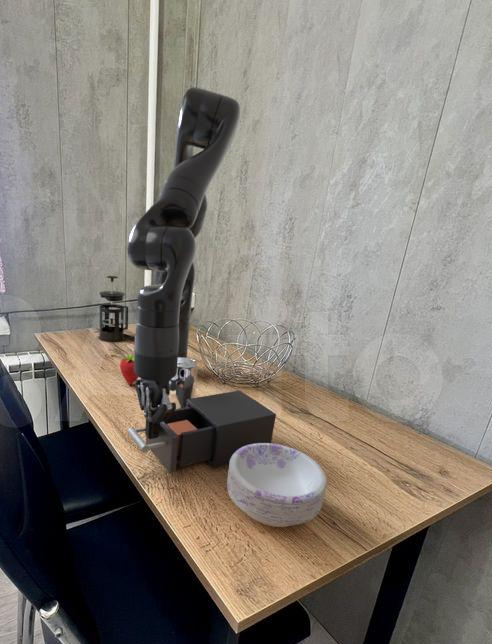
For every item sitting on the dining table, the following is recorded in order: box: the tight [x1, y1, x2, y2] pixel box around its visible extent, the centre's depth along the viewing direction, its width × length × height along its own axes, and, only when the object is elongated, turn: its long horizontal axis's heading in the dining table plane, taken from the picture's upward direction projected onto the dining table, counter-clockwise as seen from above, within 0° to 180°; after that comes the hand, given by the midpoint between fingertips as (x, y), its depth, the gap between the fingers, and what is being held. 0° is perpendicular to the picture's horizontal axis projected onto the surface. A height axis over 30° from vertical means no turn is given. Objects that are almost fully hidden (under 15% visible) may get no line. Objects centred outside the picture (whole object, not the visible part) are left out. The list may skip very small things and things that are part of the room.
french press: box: [98, 275, 129, 343], centre depth 146 cm, size 12×9×23 cm
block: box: [167, 420, 197, 456], centre depth 78 cm, size 5×5×5 cm
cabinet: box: [186, 389, 277, 469], centre depth 82 cm, size 14×12×9 cm
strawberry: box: [119, 351, 139, 386], centre depth 109 cm, size 6×8×10 cm
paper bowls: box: [226, 442, 328, 528], centre depth 65 cm, size 15×15×8 cm
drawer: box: [126, 406, 216, 474], centre depth 77 cm, size 17×11×7 cm, turn 117°
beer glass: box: [168, 357, 198, 409], centre depth 89 cm, size 7×7×15 cm
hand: (152, 436), depth 74 cm, fingers closed
